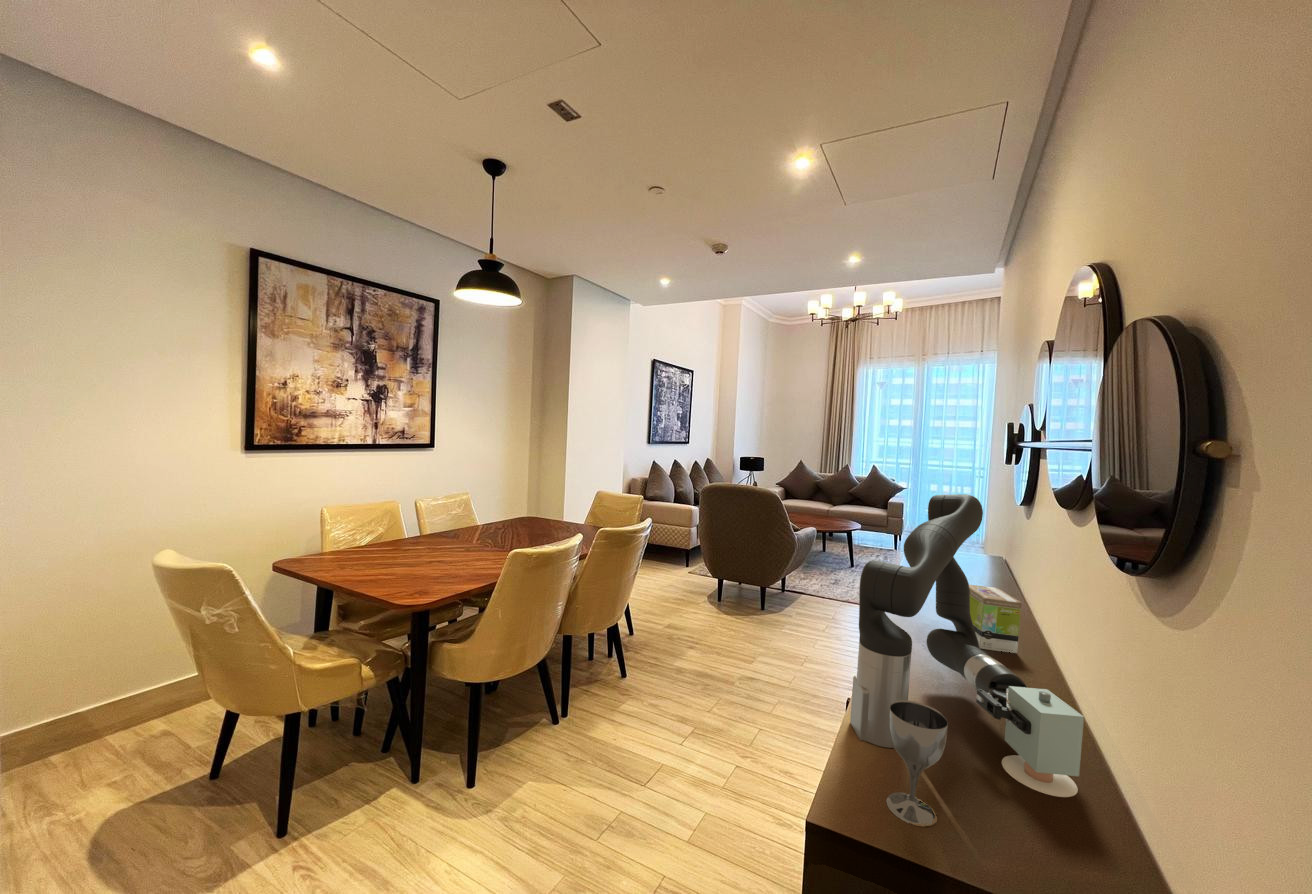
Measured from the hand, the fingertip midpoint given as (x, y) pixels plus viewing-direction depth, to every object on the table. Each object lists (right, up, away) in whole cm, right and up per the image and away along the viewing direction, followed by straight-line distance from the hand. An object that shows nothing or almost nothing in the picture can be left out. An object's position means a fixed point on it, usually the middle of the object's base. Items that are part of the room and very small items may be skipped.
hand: (1051, 731), depth 84 cm
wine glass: (-27, -9, -6) cm, 29 cm away
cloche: (0, -6, +2) cm, 6 cm away
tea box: (+31, -10, +64) cm, 72 cm away
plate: (-1, -10, +2) cm, 10 cm away
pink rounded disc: (0, -9, +2) cm, 9 cm away
